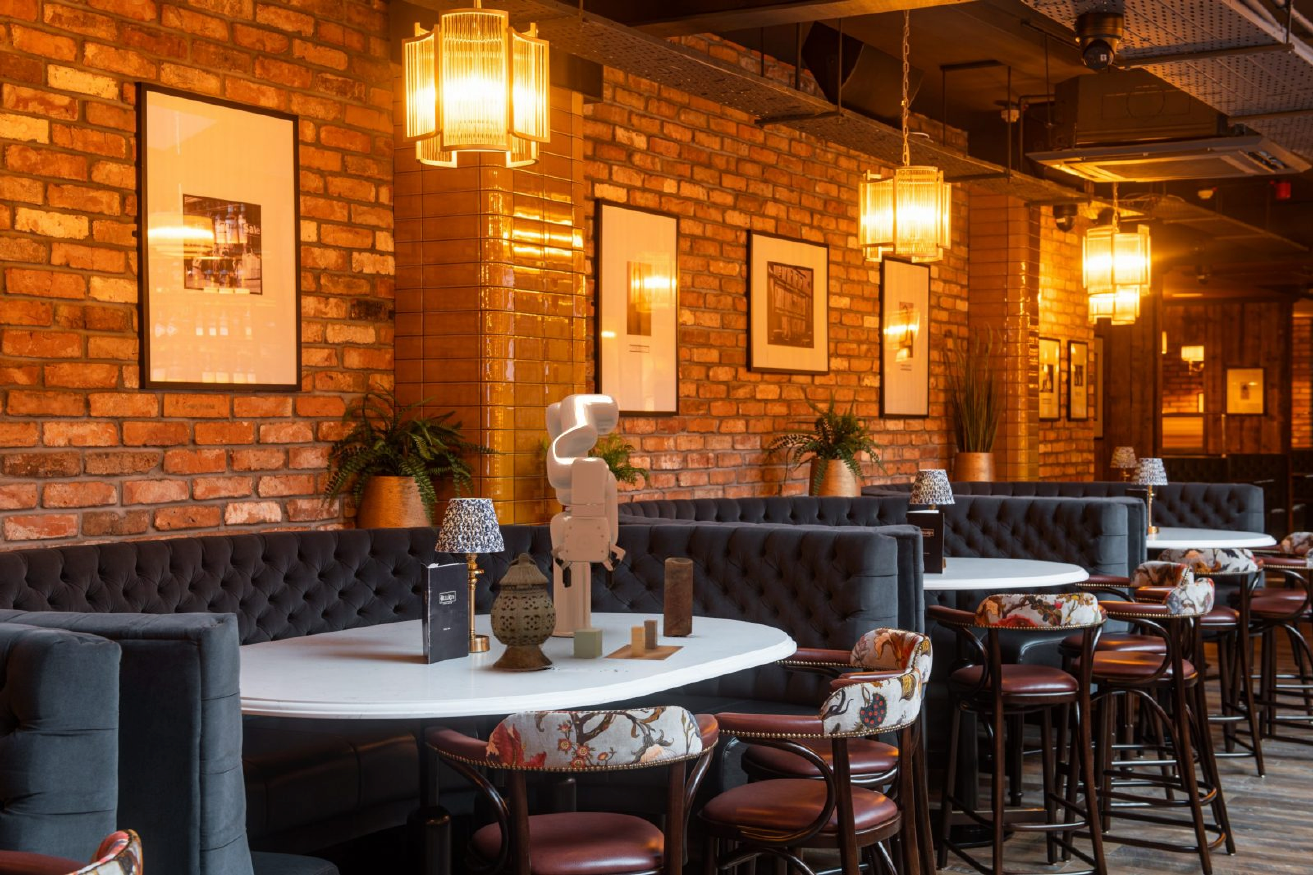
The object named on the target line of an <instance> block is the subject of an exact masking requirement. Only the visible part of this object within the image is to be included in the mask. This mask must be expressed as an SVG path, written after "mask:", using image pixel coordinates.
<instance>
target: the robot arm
mask: <svg viewBox="0 0 1313 875" xmlns="http://www.w3.org/2000/svg"><path fill="white" fill-rule="evenodd" d="M619 410H620V409H619V404H618V402H617V401H616V399H615V397H614V396H612V394H611V395H610V394H607V393H573V394H571V395H568V396H566V397H564V398H563V400H562V401H559V402H554V403H551V404H549V405H548V406H547V407H546V410H545V424H546V430H547V432H548V435H549V439H550V440H551V444H550V445H549V447H548V450H547V454H546V469H547V478H548V482H549V484H550V486H551V487H552V488H553V489H555V496H556V500H557V502H558V503H559V504H560V505H563V506H566V507H565V509H564V510H565V511H562V512H559V513H557V514H555V515H553V516H552V518H551V520H550V523H549V524H550V525H549V528H550V530H549V531H550V538H551V545H552V550H550V554H551V555H552V558H553V605H554V608H555V610H556V625H555V628H554V630H553V633H552V635H551V636H554V637H566V638H569V637H570V638H574V631H576V630H579V629H596V628H595V627H592V625H591V623H592V622H591V619H592V616H591V609H592V608H591V606H592V605H591V604H592V603H591V601H592V600H591V593H592V592H591V590H592V589H591V588H592V587H591V586H592V585H591V583H592V582H591V578H592V577H591V571H592V570H591V565H590V563H602V564H603V565H604V567H605V568H606V570H605V574H604V575H605V576H604V577H605V578H604V579H605V582H604V583H605V584H604V586H605V589H611V588H612V587H613V585H614V583H615V570H616V568H617V567H618V566H619V565H620V564H621V563H622V561H623V559H624V557H625V556H626V550H625V549H623V548H621V547H619V546H617V545H616V544H617V542H618V538H619V516H618V515H619V510H618V507H619V506H618V504H619V503H618V498H619V497H618V485H617V484H618V483H617V478H616V476H615V474H614V472H612V470H610V467H609V464H608V463H607V461H606V460H605V459H604V458H602V457H597V456H596V457H595V456H591V457H590V456H589V451H590V450H592V449H593V448H594V446H596V444H597V442H598V438H599V436H598V435H600V436H601V435H602V436H603V435H604V436H605V435H609V434H611V433H612V432H613V430H614V429H615V428H616V427H617V425H618V421H619V417H620V411H619ZM612 552H613V553H616V557H615V559H614V560H613V561H612V559H611V558H612Z"/></svg>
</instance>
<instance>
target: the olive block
mask: <svg viewBox="0 0 1313 875" xmlns="http://www.w3.org/2000/svg"><path fill="white" fill-rule="evenodd" d="M601 656H603V629H602V628H601V629H600V628H599V629H598V628H595V629H579V630H576V631H574V637H573V658H575V659H576V658H578V659H579V658H580V659H597V658H599V657H601Z"/></svg>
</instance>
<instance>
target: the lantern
mask: <svg viewBox="0 0 1313 875" xmlns="http://www.w3.org/2000/svg"><path fill="white" fill-rule="evenodd" d="M517 562H518V564H515V563H517ZM530 562H531V563H532V564H531V563H530ZM513 564H514V565H513ZM549 583H550V580H549V579H548V577H546V575H544V574H543V573H542V572H541V570H540V568H538V565H537V563H536V561H535V559H533V558H531V557H530V555H529V554H528V553H526V552H522V553H520V554H519V555H518V558H515V559H513V560H512V561H510V563H509V564H508V571H507V572H506V574H505V575H504V576H503V577H502V578H501V580H500V581H498V585H499V586H500V592H499V594H498V596H497V597H496V599H495V600H494V602H493V605H492V608H491V611H490V626H491V629H492V633H493V636H494V637H495V638H496V639H497V641H498V642H500V643H501V645H505V646H506V648H505V651H504V652H503V654H502V655H501V656H500V658H499V659H497V660H496V661H495V662H494V663H493V665H492V669H494V670H495V671H499V672H500V671H501V672H506V673H508V672H509V673H535V672H536V673H537V672H543V671H548V670H552V669H554V667H552V666H551V665H553V664H554V663H553V661H552V660H551V659H549V657H548V656H547V655H545V653H544V652H543V651H542V649H540V647H539V645H540V644H543V645H544V644H545V643H546V642H547V641H548V639H550V637H551V636H553V635H552V633H553V630H554V628H555V625H556V610H555V608H554V602H553V601H552V599H551V596H549V593H548V591H547V587H546V584H549ZM550 666H551V667H550Z"/></svg>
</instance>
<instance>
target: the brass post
mask: <svg viewBox="0 0 1313 875" xmlns="http://www.w3.org/2000/svg"><path fill="white" fill-rule="evenodd" d="M630 630H631V631H630V634H631V635H630V639H631V641H630V642H631V643H630V644H631V656H635V657H643V656H645V627H644V625H643V626H638V625H637V626H635V625H634V626H632V627H630Z"/></svg>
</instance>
